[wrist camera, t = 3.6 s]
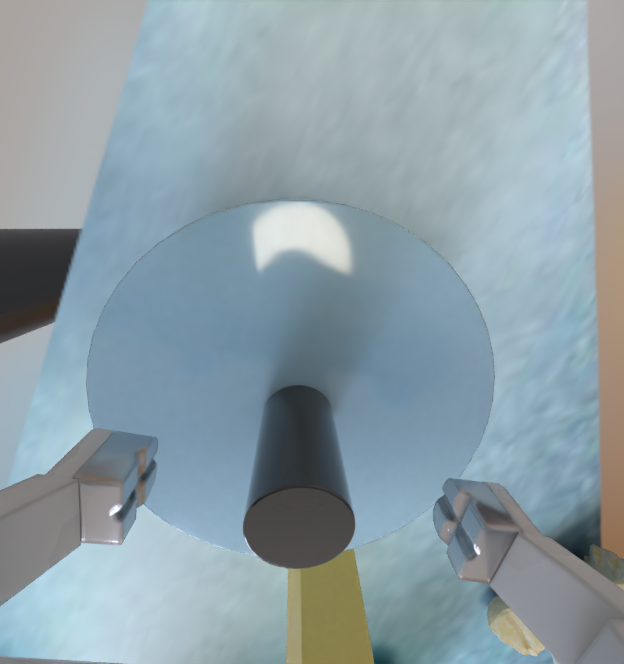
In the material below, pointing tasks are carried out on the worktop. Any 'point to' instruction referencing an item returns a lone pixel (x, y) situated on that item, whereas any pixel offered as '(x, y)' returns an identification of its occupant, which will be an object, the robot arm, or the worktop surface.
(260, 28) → the worktop surface
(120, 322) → the pot lid
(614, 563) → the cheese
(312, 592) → the butter
